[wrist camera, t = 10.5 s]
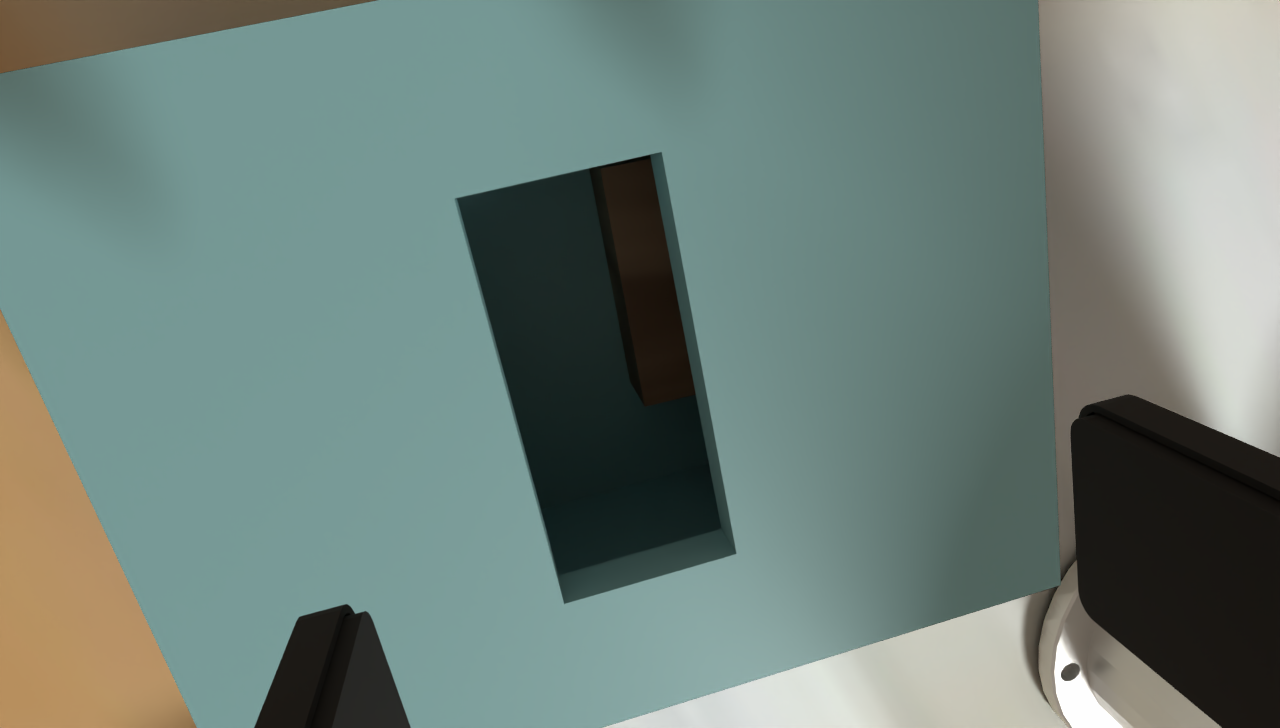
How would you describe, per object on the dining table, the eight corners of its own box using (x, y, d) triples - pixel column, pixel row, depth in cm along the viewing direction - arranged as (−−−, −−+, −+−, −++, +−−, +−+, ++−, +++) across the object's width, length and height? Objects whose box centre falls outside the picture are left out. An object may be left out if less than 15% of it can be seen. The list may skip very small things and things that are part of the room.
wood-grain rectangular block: (779, 125, 26) (804, 340, 28) (588, 163, 25) (630, 381, 27) (809, 126, 23) (834, 361, 26) (600, 168, 23) (645, 406, 25)
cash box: (821, -40, 25) (1032, -127, 16) (877, 437, 30) (1061, 584, 21) (133, 98, 23) (-102, 92, 13) (321, 592, 28) (248, 837, 19)
